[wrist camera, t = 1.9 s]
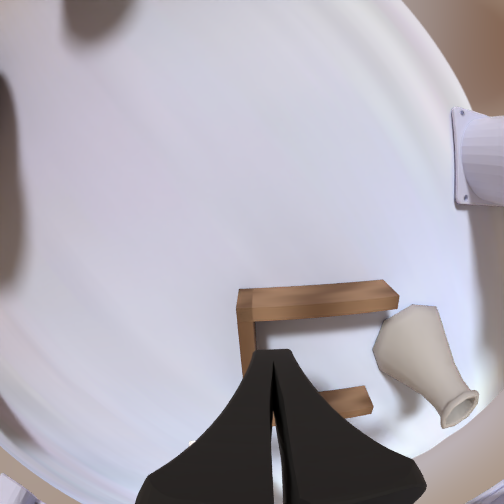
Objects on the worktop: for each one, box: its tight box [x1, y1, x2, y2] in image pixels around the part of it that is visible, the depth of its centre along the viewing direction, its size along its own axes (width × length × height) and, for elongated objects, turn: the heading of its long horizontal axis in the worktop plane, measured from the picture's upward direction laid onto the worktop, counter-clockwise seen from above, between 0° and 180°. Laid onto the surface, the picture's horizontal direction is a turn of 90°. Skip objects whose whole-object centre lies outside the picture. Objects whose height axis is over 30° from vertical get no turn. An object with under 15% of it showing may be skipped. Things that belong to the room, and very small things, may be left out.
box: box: [236, 280, 399, 426], centre depth 20 cm, size 11×12×3 cm
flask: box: [373, 304, 479, 429], centre depth 17 cm, size 7×7×10 cm
